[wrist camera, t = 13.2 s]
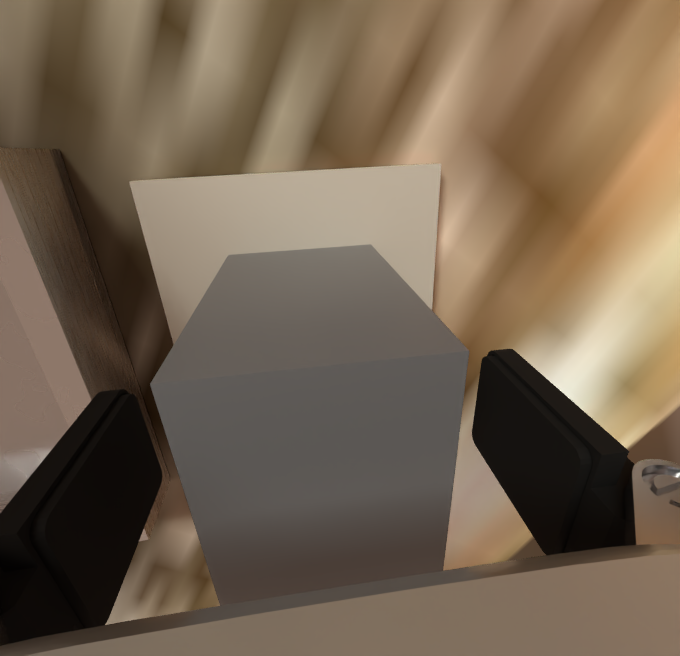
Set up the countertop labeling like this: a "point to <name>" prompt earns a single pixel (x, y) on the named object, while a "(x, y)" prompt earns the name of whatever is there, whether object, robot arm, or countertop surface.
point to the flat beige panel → (285, 223)
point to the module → (314, 423)
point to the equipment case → (52, 320)
